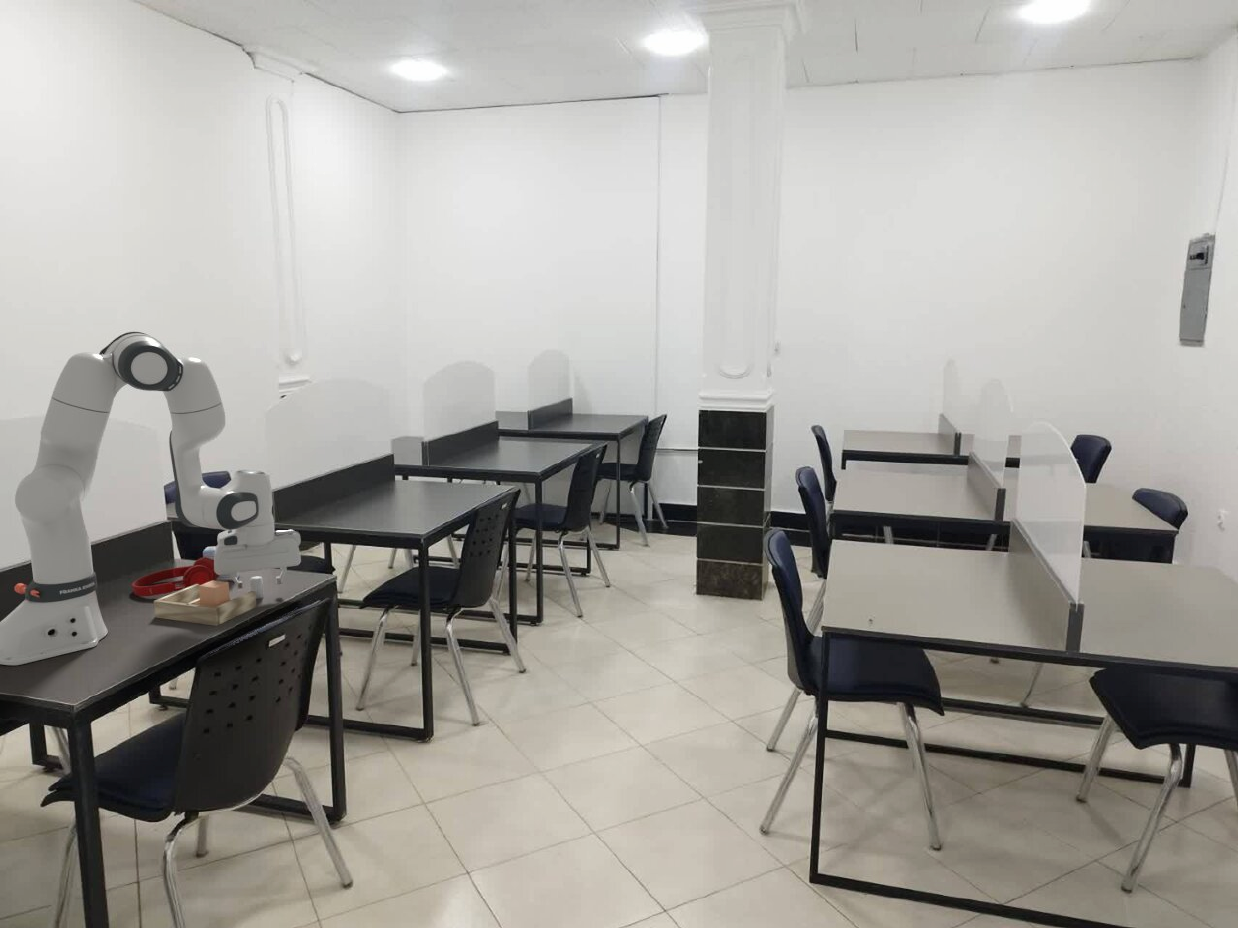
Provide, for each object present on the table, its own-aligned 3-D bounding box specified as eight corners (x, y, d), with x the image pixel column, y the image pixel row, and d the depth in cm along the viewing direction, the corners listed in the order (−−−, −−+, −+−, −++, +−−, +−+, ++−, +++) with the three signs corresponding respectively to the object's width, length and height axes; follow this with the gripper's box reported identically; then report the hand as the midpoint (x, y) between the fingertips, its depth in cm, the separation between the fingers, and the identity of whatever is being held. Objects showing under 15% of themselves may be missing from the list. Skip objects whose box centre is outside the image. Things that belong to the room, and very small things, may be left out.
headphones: (226, 576, 235) (147, 590, 231) (220, 551, 233) (140, 565, 230) (212, 594, 220) (127, 609, 217) (205, 567, 219) (120, 582, 216)
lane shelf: (216, 625, 200) (215, 609, 200) (155, 617, 205) (153, 600, 204) (256, 606, 213) (255, 591, 212) (197, 599, 218) (196, 583, 217)
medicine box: (240, 575, 237) (237, 544, 235) (236, 580, 232) (234, 549, 231) (208, 577, 235) (206, 546, 233) (205, 582, 231) (202, 551, 229)
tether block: (217, 620, 204) (214, 587, 202) (201, 618, 205) (198, 585, 203) (268, 596, 221) (266, 565, 219) (253, 594, 222) (251, 564, 221)
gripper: (298, 525, 224) (302, 577, 227) (211, 534, 216) (215, 588, 218) (301, 531, 219) (304, 584, 221) (211, 541, 210) (216, 595, 213)
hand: (259, 586), depth 220 cm, fingers open, 8 cm apart
